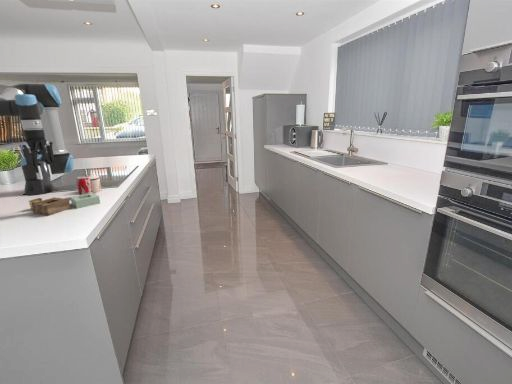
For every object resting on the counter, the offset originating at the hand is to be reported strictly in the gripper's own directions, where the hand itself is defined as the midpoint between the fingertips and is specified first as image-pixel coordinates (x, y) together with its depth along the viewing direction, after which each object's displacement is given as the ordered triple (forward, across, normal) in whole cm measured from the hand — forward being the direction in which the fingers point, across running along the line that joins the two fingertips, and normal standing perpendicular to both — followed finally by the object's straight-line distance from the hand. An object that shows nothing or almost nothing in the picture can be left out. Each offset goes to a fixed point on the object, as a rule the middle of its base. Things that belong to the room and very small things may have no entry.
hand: (45, 177), depth 133 cm
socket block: (+17, 0, 0) cm, 17 cm away
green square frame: (+17, +13, -7) cm, 23 cm away
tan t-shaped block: (+16, 0, +8) cm, 18 cm away
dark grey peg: (+7, 0, 0) cm, 7 cm away
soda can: (+17, +23, +5) cm, 29 cm away
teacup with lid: (+18, +34, +13) cm, 41 cm away
